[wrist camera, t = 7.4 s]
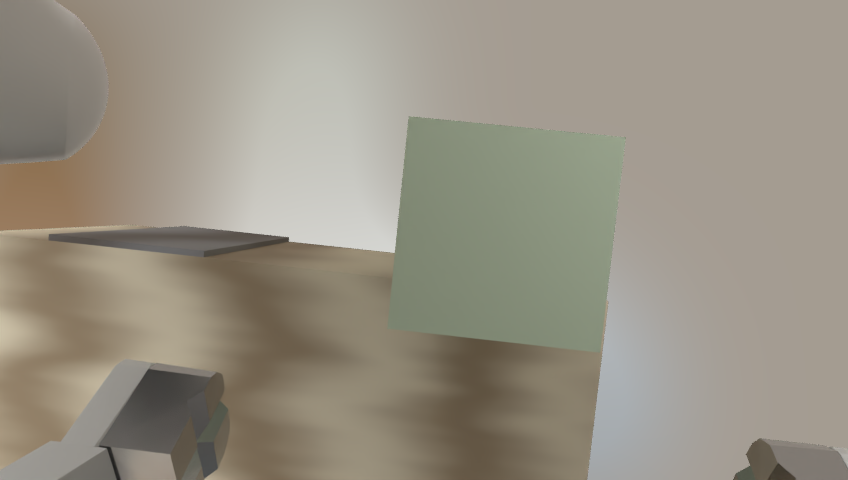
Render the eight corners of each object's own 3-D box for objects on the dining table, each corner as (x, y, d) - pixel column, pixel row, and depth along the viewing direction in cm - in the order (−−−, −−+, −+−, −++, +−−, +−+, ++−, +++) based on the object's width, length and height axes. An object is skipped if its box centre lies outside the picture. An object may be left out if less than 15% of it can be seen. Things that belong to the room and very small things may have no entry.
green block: (387, 328, 11) (408, 115, 10) (436, 246, 35) (443, 181, 34) (599, 352, 10) (625, 136, 10) (501, 253, 34) (508, 188, 34)
